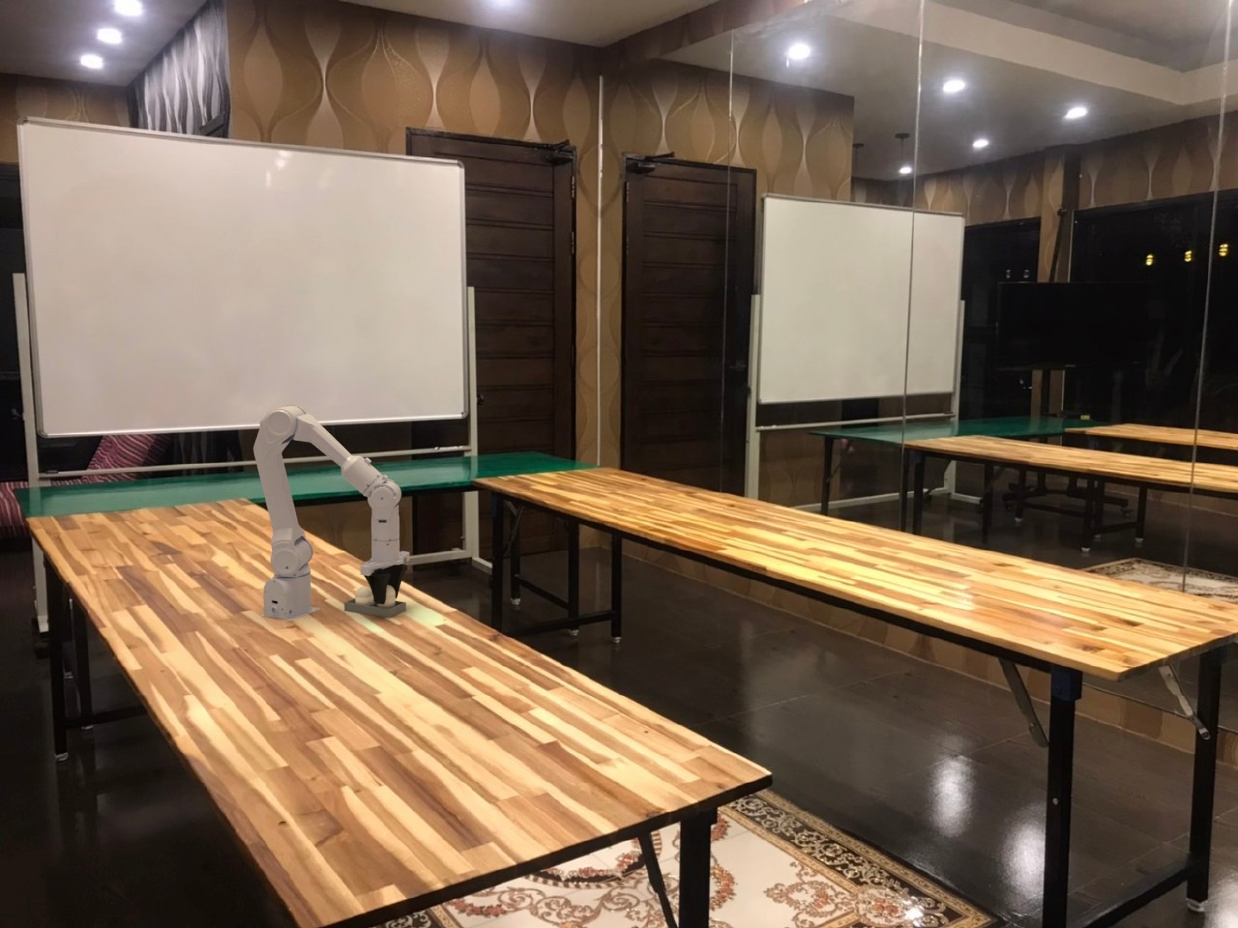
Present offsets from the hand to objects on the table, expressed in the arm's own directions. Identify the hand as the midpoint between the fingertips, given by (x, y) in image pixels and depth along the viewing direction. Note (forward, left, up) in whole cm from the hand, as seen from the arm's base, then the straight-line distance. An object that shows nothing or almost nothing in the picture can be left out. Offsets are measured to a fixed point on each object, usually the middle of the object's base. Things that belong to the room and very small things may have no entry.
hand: (386, 600), depth 199 cm
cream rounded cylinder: (0, 0, -1) cm, 1 cm away
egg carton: (0, +3, -3) cm, 4 cm away
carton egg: (0, +6, -2) cm, 6 cm away
